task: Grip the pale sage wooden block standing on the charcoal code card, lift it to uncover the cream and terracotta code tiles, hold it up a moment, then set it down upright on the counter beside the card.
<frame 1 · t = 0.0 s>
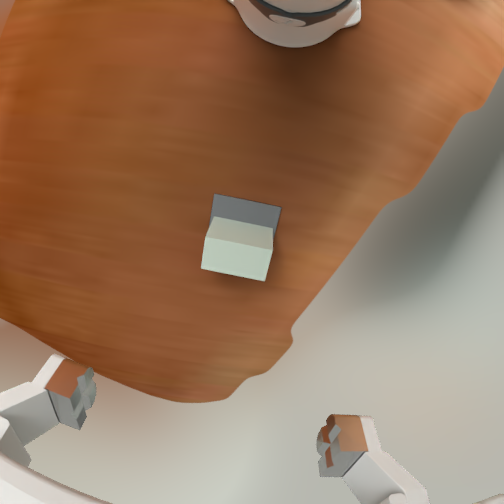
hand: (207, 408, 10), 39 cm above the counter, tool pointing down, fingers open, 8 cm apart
code card: (240, 236, 50), on the counter
sage block: (240, 236, 50), resting on code card
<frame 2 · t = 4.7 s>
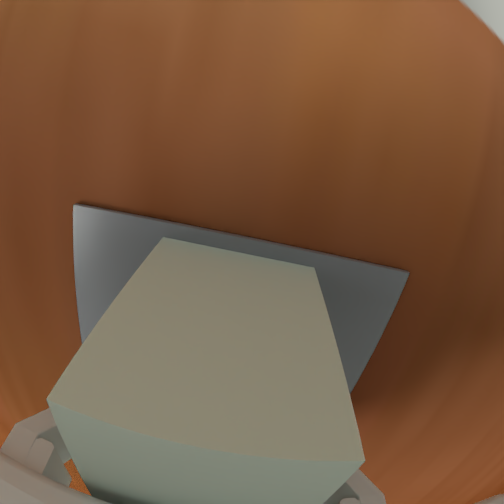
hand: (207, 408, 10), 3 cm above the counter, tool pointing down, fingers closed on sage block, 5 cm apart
code card: (218, 353, 12), on the counter
sage block: (217, 356, 12), resting on code card, touching gripper
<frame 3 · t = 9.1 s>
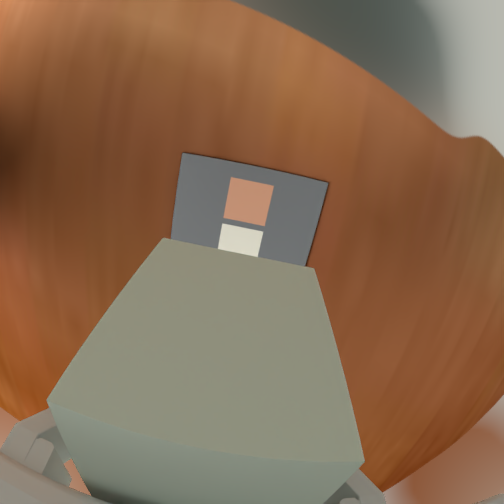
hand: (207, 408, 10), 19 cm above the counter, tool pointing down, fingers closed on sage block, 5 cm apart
code card: (243, 223, 27), on the counter
sage block: (217, 357, 12), point 16 cm above the counter, touching gripper
when the fingers open (4 cm above the counter, at t = 13.9 s): sage block drops 2 cm, on the counter.
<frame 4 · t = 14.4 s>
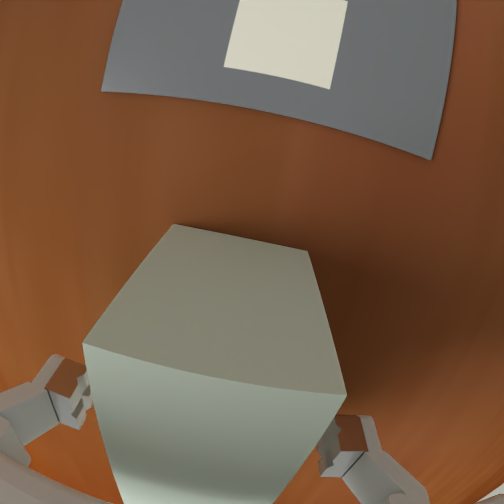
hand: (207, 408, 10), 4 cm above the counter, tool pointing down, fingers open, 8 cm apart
sage block: (221, 333, 13), on the counter
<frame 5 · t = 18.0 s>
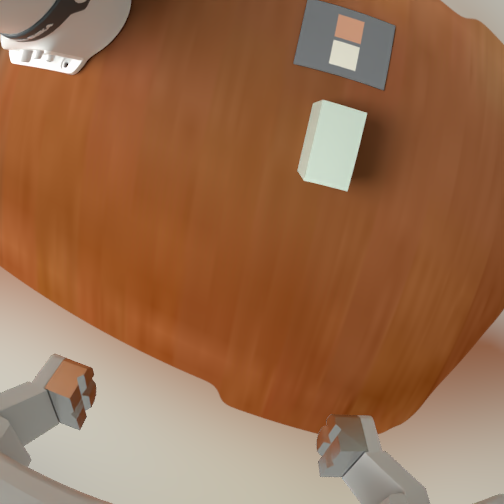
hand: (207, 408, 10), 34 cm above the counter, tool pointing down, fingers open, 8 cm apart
code card: (346, 42, 33), on the counter
sage block: (324, 141, 38), on the counter
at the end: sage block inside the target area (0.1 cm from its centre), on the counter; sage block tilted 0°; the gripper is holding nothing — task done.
